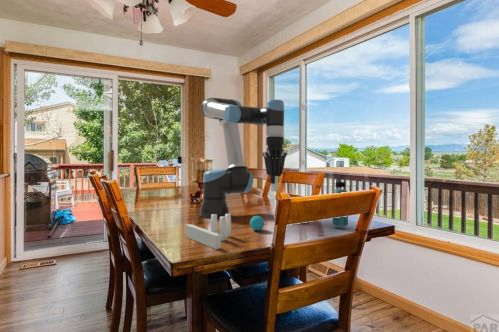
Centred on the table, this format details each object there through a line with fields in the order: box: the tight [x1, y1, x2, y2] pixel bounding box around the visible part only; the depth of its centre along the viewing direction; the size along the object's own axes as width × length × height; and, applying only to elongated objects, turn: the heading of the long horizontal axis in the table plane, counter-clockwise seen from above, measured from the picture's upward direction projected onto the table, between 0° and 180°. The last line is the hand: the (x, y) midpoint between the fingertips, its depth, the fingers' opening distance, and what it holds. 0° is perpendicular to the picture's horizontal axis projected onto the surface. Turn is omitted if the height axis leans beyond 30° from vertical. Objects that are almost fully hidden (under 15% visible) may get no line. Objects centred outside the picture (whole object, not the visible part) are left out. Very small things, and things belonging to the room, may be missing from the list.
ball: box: [249, 215, 265, 232], centre depth 125 cm, size 6×6×6 cm
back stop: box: [185, 223, 222, 250], centre depth 108 cm, size 20×2×4 cm, turn 41°
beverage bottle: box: [332, 181, 349, 227], centre depth 130 cm, size 6×7×20 cm
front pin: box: [225, 213, 232, 238], centre depth 115 cm, size 2×2×8 cm
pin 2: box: [219, 216, 227, 242], centre depth 110 cm, size 2×2×8 cm
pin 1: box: [210, 214, 218, 234], centre depth 115 cm, size 2×2×8 cm
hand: (274, 191), depth 131 cm, fingers closed
